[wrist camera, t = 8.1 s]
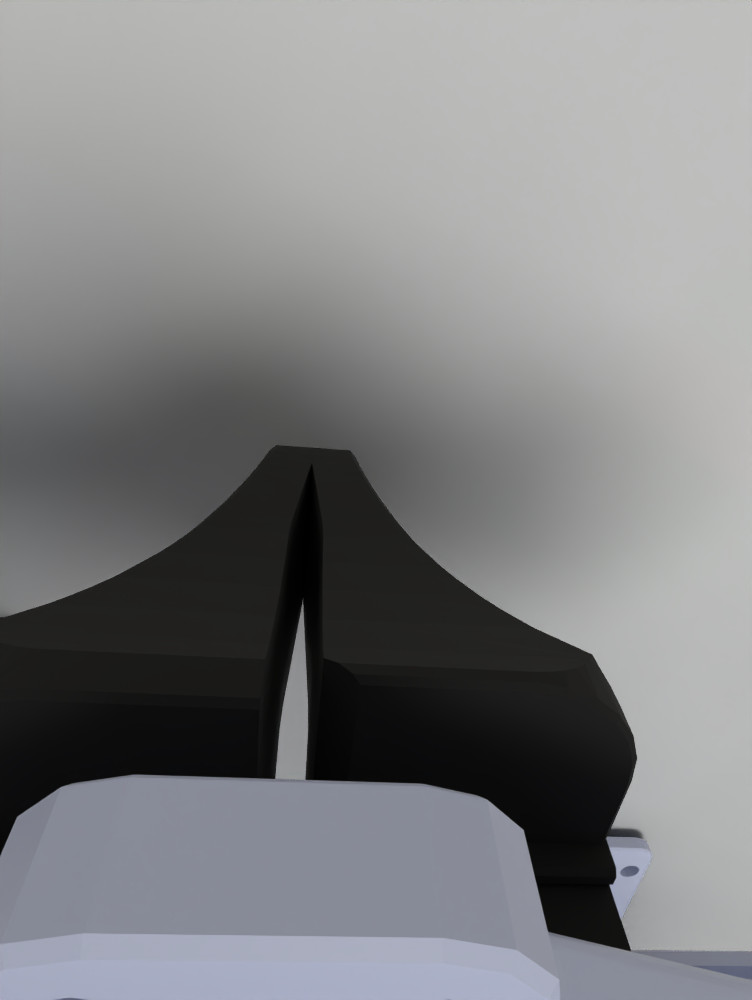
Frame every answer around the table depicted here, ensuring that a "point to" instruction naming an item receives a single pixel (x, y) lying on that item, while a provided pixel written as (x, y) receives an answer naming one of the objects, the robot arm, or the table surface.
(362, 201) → the table surface
